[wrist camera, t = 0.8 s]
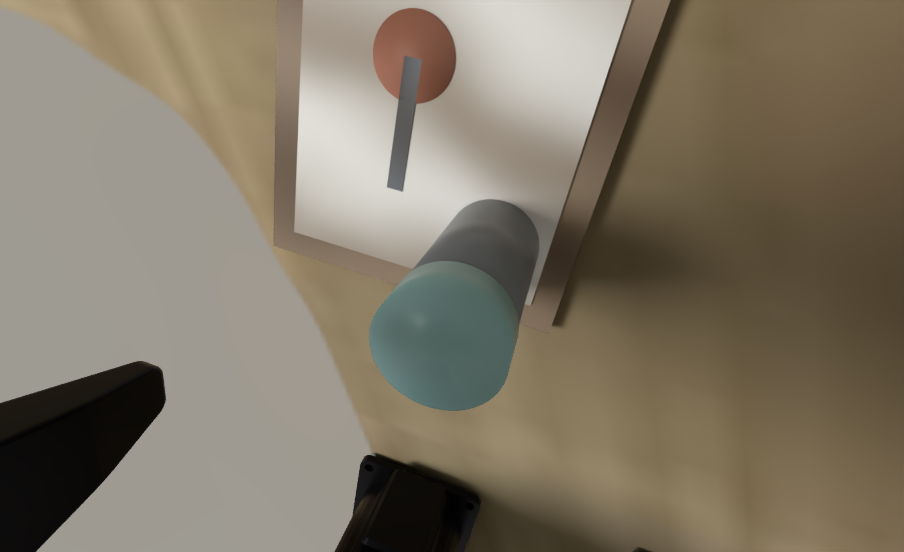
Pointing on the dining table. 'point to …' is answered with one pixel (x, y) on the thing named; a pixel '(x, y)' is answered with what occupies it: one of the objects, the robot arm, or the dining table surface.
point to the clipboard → (450, 124)
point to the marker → (459, 309)
